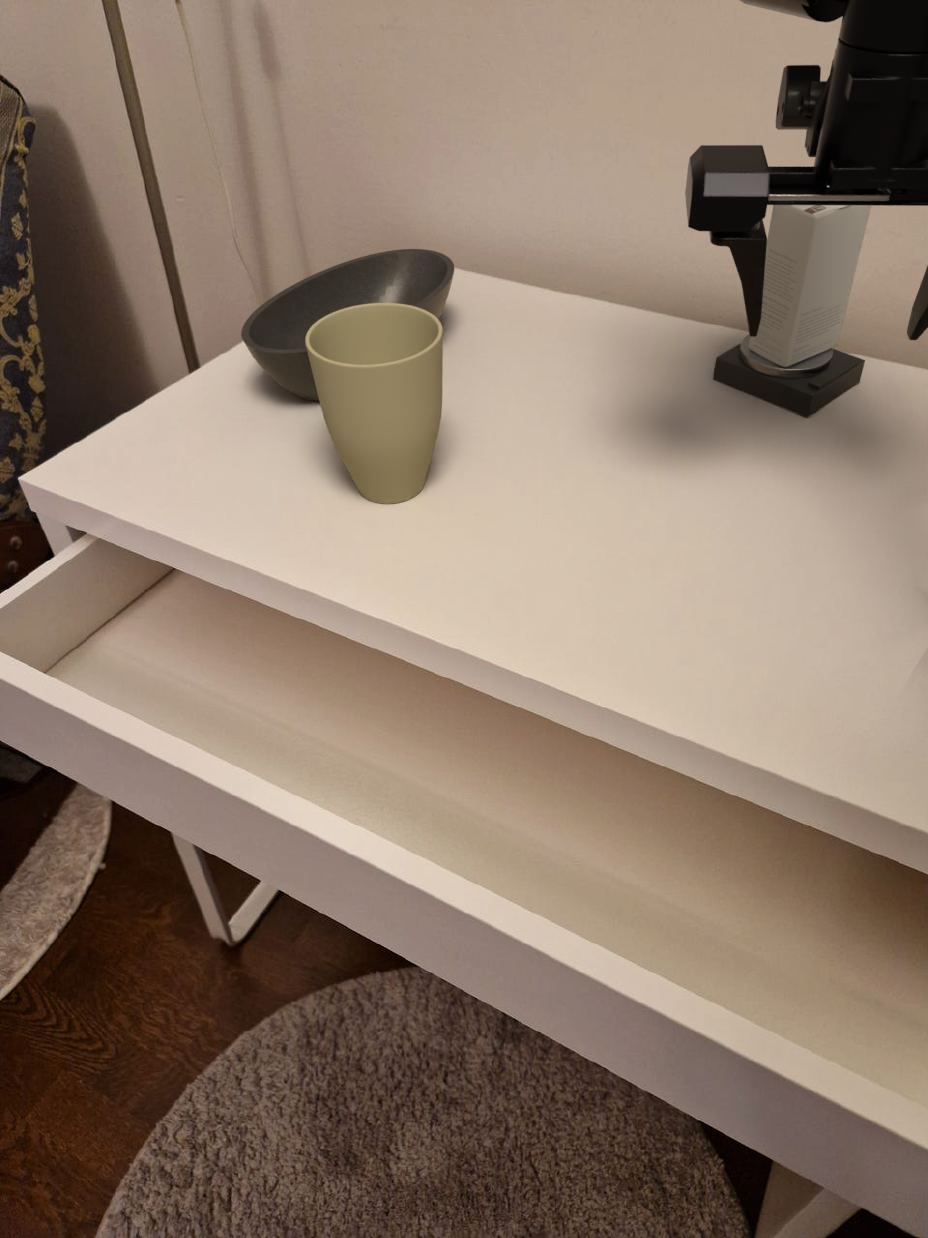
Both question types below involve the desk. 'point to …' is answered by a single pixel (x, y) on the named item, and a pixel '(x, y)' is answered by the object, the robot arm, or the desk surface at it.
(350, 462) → the olive green cup
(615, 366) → the desk surface
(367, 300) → the bowl
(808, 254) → the cosmetic box
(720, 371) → the scale
